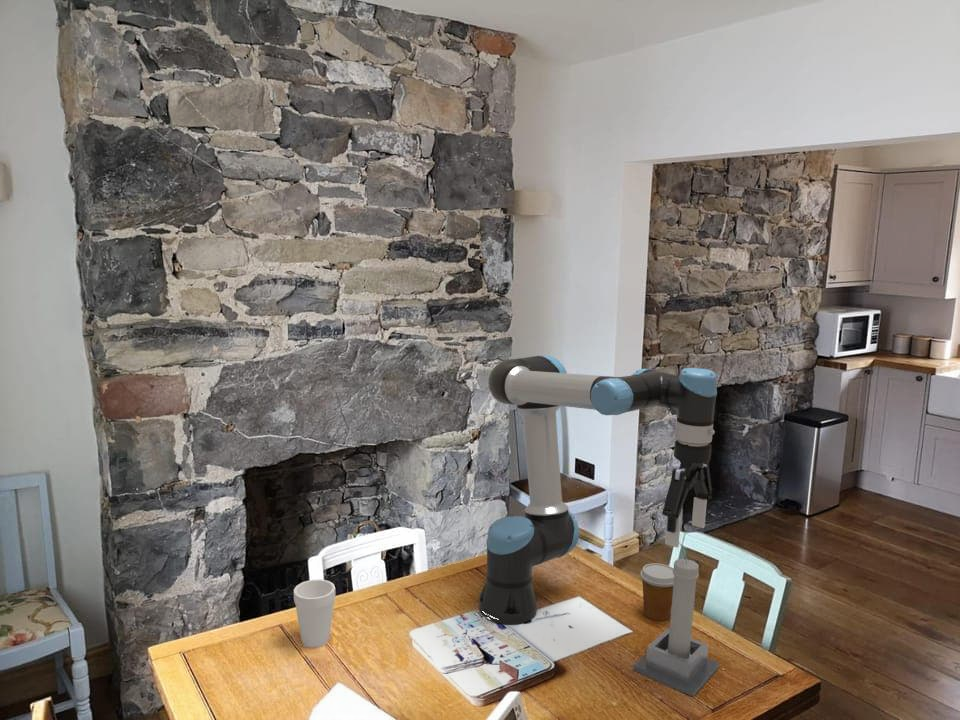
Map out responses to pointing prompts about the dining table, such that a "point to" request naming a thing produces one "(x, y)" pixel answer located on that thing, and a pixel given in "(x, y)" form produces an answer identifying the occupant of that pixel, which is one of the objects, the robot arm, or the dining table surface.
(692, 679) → the pipe socket
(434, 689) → the dining table surface
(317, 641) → the foam cup
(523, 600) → the robot arm
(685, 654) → the pipe
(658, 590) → the disposable coffee cup
